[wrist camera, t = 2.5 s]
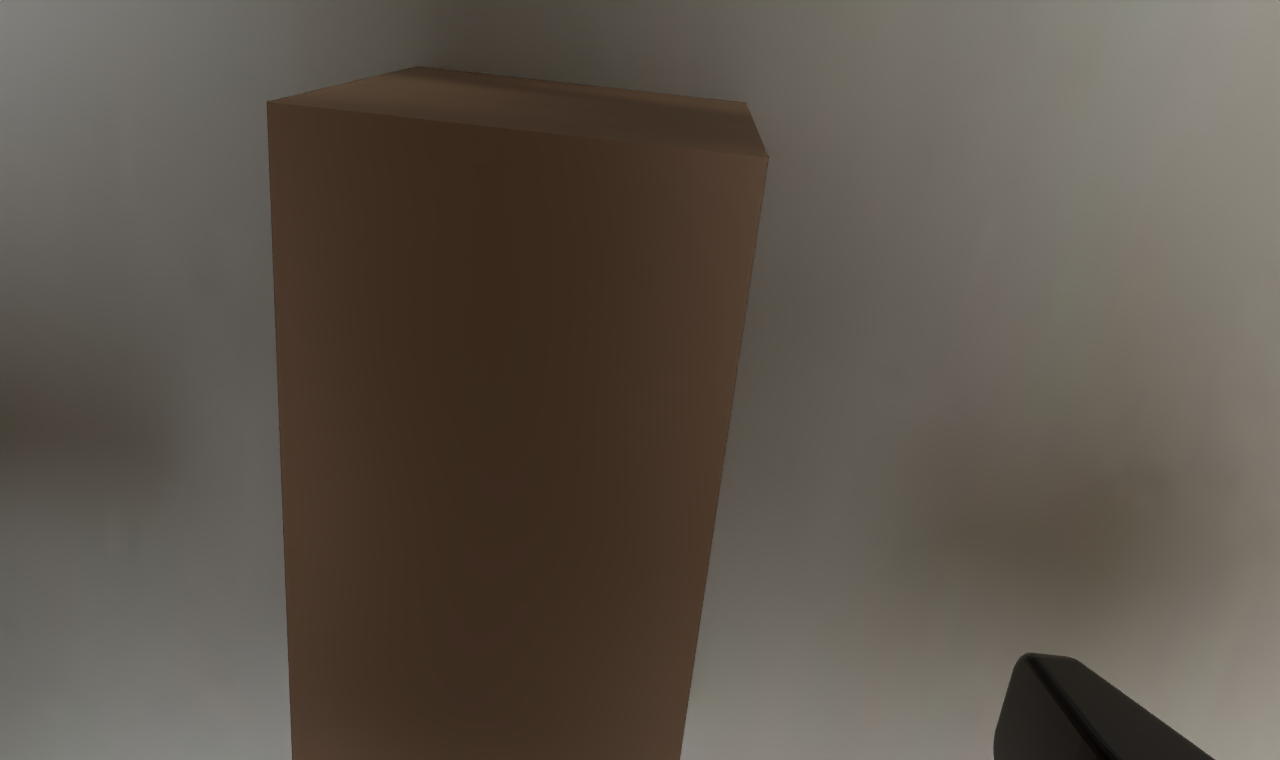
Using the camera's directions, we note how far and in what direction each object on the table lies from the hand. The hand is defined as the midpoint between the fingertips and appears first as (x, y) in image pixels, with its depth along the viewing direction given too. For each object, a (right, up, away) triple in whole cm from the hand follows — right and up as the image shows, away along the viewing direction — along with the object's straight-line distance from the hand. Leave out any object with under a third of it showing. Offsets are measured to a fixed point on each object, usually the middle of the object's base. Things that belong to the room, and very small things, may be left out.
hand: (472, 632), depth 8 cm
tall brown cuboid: (0, +2, +4) cm, 4 cm away
